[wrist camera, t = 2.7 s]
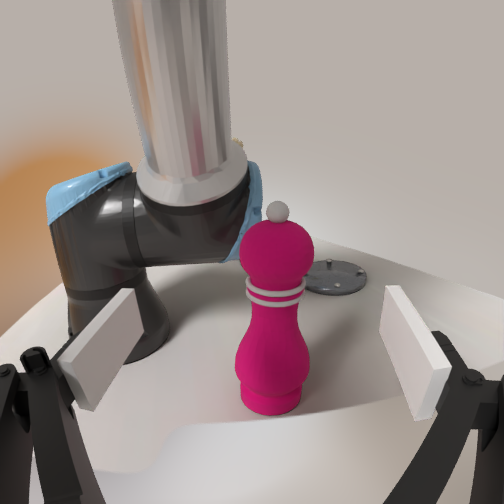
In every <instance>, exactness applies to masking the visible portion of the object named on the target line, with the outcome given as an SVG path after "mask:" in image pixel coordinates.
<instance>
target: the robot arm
mask: <svg viewBox="0 0 504 504" xmlns="http://www.w3.org/2000/svg"><path fill="white" fill-rule="evenodd" d="M112 3H113V9H114V15H115V21H116V27H117V32H118V38H119V43H120V48H121V54H122V59H123V63H124V68H125V73H126V77H127V82H128V87H129V91H130V96H131V100H132V104H133V109H134V113H135V116H136V121H137V125H138V129H139V133H140V136H141V141H142V145H143V149H144V152H145V156H144V157H143V159H142V160H141V162H140V164H139V166H138V168H137V172H134V173H132V167H131V166H130V163H129V162H123V163H120V164H116V165H113V166H110V167H106V168H103V169H100V170H97V171H94V172H91V173H88V174H85V175H82V176H79V177H76V178H73V179H71V180H67V181H65V182H62V183H59V184H57V185H54V186H53V187H51V189H50V190H49V191H48V193H47V196H46V205H47V216H48V226H49V227H50V232H51V236H52V241H53V245H54V249H55V253H56V257H57V261H58V265H59V269H60V272H61V276H62V279H63V283H64V286H65V290H66V293H67V297H68V326H69V328H68V335H69V340H68V341H67V343H65V344H64V345H63V346H62V348H61V349H60V350H59V351H58V352H57V353H56V354H55V355H54V357H53V358H52V359H51V360H49V357H48V355H47V353H46V350H45V349H44V348H43V347H32V348H30V349H27V350H26V351H25V352H23V354H22V355H21V357H20V361H21V363H22V365H23V367H24V369H25V371H26V373H18V372H17V370H16V368H15V366H14V365H13V364H3V365H1V366H0V504H29V487H30V473H31V462H32V453H33V446H34V452H35V458H36V464H37V470H38V475H39V480H40V484H41V489H42V493H43V497H44V504H106V502H105V500H104V498H103V495H102V493H101V490H100V488H99V485H98V483H97V480H96V478H95V475H94V472H93V469H92V467H91V464H90V461H89V458H88V455H87V452H86V449H85V446H84V443H83V440H82V436H81V433H80V430H79V426H78V423H77V419H76V415H75V412H74V409H73V407H72V405H71V404H72V402H73V401H74V400H76V402H77V404H78V406H79V408H81V409H85V410H89V411H93V412H94V410H95V408H96V407H97V405H98V403H99V402H100V400H101V399H102V397H103V395H104V394H105V392H106V390H107V389H108V387H109V386H110V384H111V382H112V381H113V379H114V378H115V376H116V374H117V373H118V371H119V370H120V368H121V367H122V365H123V364H126V363H130V362H133V361H136V360H138V359H141V358H143V357H145V356H147V355H149V354H150V353H152V352H153V351H155V350H156V349H157V348H158V347H160V346H161V345H162V343H163V342H164V341H165V340H166V338H167V336H168V334H169V330H170V325H169V320H168V316H167V312H166V309H165V307H164V306H163V304H162V302H161V301H160V299H159V297H158V295H157V294H156V292H155V290H154V289H153V287H152V285H151V283H150V282H149V280H148V278H147V273H146V268H145V267H152V266H168V265H186V264H202V263H225V262H227V261H230V260H238V259H240V257H239V250H240V243H241V240H242V238H243V236H244V234H245V233H246V231H247V230H248V229H249V228H250V227H251V226H253V225H255V224H256V223H258V222H261V221H262V214H261V208H262V200H263V199H262V198H263V196H262V180H261V174H260V170H259V167H258V165H257V164H256V163H254V162H251V161H248V160H247V156H246V154H245V152H244V150H243V148H242V147H241V146H240V145H239V144H238V143H236V142H235V141H233V140H231V121H230V101H229V77H228V54H227V27H226V0H112ZM379 333H380V335H381V338H382V340H383V342H384V345H385V347H386V349H387V352H388V354H389V357H390V359H391V362H392V364H393V367H394V369H395V372H396V374H397V377H398V379H399V382H400V384H401V387H402V390H403V392H404V395H405V397H406V400H407V403H408V405H409V408H410V411H411V414H412V416H413V419H414V421H421V420H426V419H431V417H432V416H433V413H434V411H435V409H436V410H437V412H438V415H437V417H436V419H435V421H434V423H433V425H432V427H431V428H430V430H429V432H428V434H427V436H426V438H425V439H424V441H423V443H422V445H421V446H420V448H419V450H418V452H417V453H416V455H415V457H414V458H413V460H412V461H411V463H410V465H409V466H408V468H407V469H406V471H405V472H404V474H403V476H402V477H401V479H400V480H399V482H398V483H397V484H396V486H395V487H394V489H393V490H392V492H391V493H390V495H389V496H388V497H387V499H386V500H385V501H384V503H383V504H436V502H437V501H438V499H439V497H440V495H441V493H442V491H443V489H444V487H445V486H446V484H447V482H448V479H449V478H450V476H451V474H452V471H453V469H454V467H455V465H456V463H457V461H458V458H459V456H460V454H461V451H462V449H463V447H464V444H465V442H466V440H467V437H468V435H469V432H470V429H478V442H477V453H476V463H475V471H474V479H473V486H472V492H471V498H470V503H469V504H504V375H503V377H502V379H501V381H492V380H485V378H484V376H483V375H482V374H481V373H480V372H478V371H476V370H474V369H468V367H467V366H466V364H465V363H464V361H463V360H462V358H461V357H460V355H459V354H458V352H457V351H456V349H455V348H454V346H453V345H452V343H451V342H450V340H449V339H448V337H447V336H446V335H444V334H443V333H441V332H440V331H432V332H430V330H429V329H428V327H427V326H426V324H425V323H424V321H423V319H422V318H421V316H420V315H419V313H418V312H417V310H416V309H415V307H414V306H413V305H412V303H411V302H410V300H409V299H408V297H407V296H406V294H405V293H404V291H403V290H402V289H401V287H400V286H399V285H390V286H385V293H384V300H383V308H382V314H381V321H380V327H379Z"/></svg>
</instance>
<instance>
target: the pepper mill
mask: <svg viewBox="0 0 504 504" xmlns="http://www.w3.org/2000/svg"><path fill="white" fill-rule="evenodd" d="M266 215H267V217H268V219H269V220H264V221H261V222H258V223H256V224H255V225H253V226H251V227H250V228H249V229H248V230H247V231H246V233H245V234H244V236H243V238H242V240H241V243H240V250H239V257H240V262H241V265H242V267H243V269H244V270H245V271H246V272H247V273H248V276H247V278H246V286H247V288H246V295H247V297H248V298H249V299H250V300H251V302H252V319H251V322H250V326H249V328H248V330H247V332H246V334H245V335H244V337H243V339H242V341H241V343H240V345H239V347H238V350H237V353H236V359H235V371H236V374H237V377H238V378H239V380H240V381H241V384H240V386H241V399H242V401H243V403H244V404H245V405H246V406H247V407H248V408H249V409H251V410H252V411H254V412H256V413H259V414H262V415H280V414H283V413H286V412H288V411H290V410H292V409H293V408H294V407H295V406H296V405H297V404H298V403H299V401H300V397H301V390H302V383H303V382H304V381H305V380H306V378H307V376H308V373H309V353H308V349H307V346H306V344H305V341H304V339H303V337H302V335H301V332H300V330H299V327H298V322H297V309H298V304H299V302H300V301H301V300H302V299H303V298H304V296H305V289H304V288H305V286H306V281H305V278H304V277H303V276H304V275H305V274H306V273H307V272H308V271H309V270H310V268H311V267H312V264H313V259H314V246H313V242H312V239H311V237H310V236H309V234H308V232H307V231H306V230H305V229H304V228H303V227H301V226H300V225H298V224H297V223H294V222H291V221H288V220H287V218H288V216H289V209H288V206H287V205H286V204H285V203H283V202H281V201H275V202H272V203H271V204H269V206H268V207H267V211H266Z"/></svg>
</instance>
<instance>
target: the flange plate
mask: <svg viewBox="0 0 504 504" xmlns="http://www.w3.org/2000/svg"><path fill="white" fill-rule="evenodd" d="M303 277H304V278H305V281H306V286H305V288H306V289H308V290H310V291H312V292H315V293H319V294H323V295H347V294H351V293H354V292H357V291H359V290H360V289H362V288H363V287H364V285H365V283H366V273H365V271H364V270H363V269H362V268H360V267H359V266H357V265H355V264H352V263H348V262H344V261H335V260H331V259H327V260H326V261H317V262H313V264H312V267H311V268H310V270H309V271H308V272H307V273H306V274H305V275H304V276H303Z"/></svg>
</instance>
